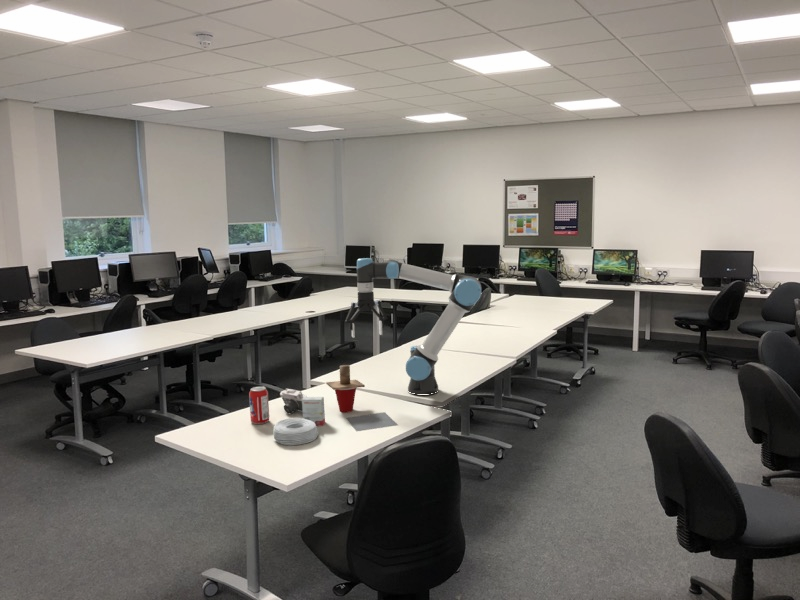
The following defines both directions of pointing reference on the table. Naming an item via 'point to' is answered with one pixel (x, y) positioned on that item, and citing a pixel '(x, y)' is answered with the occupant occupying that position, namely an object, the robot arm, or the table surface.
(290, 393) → the camera
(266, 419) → the soda can
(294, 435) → the cable
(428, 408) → the table surface
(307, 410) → the ink box
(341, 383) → the lid
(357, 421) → the mat
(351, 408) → the plastic cup
